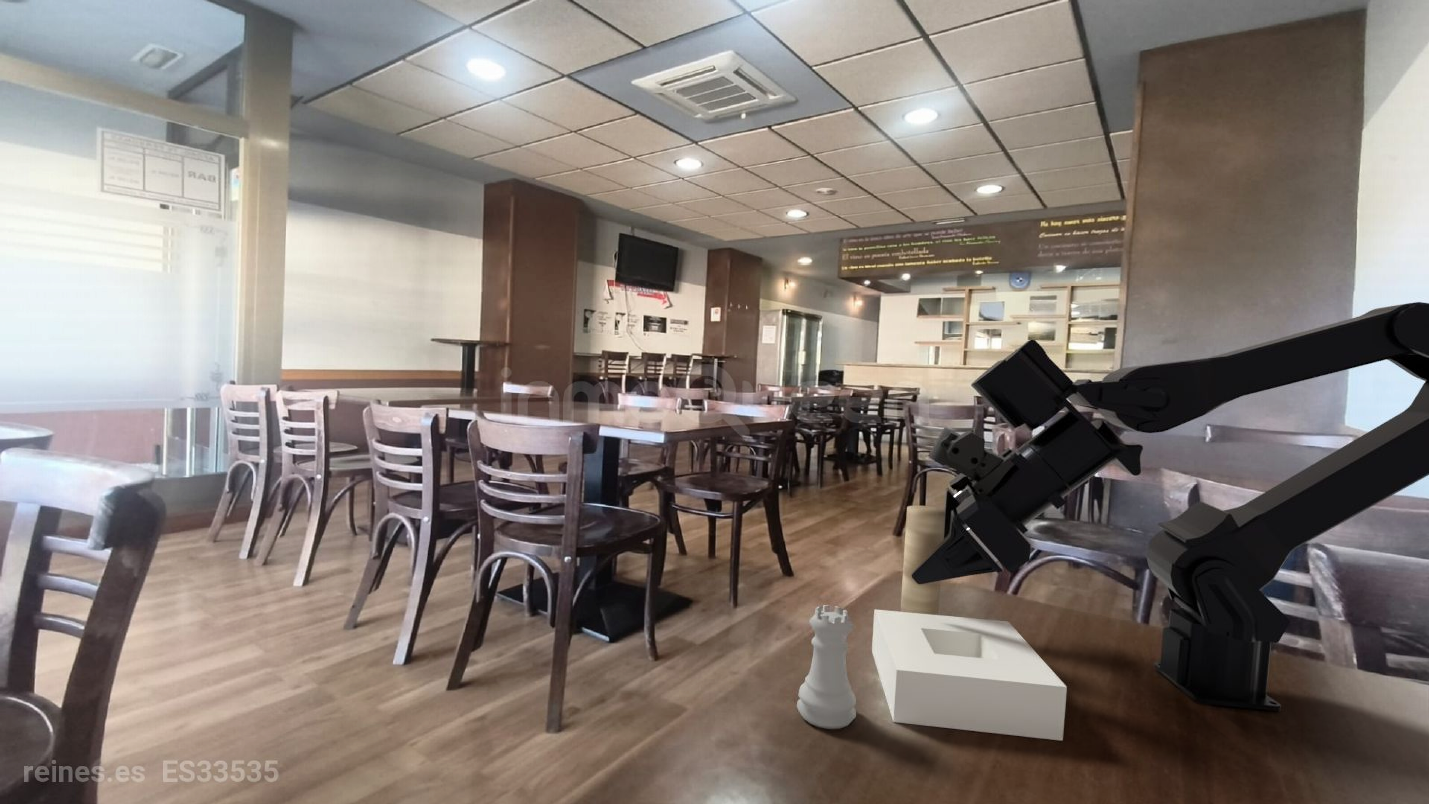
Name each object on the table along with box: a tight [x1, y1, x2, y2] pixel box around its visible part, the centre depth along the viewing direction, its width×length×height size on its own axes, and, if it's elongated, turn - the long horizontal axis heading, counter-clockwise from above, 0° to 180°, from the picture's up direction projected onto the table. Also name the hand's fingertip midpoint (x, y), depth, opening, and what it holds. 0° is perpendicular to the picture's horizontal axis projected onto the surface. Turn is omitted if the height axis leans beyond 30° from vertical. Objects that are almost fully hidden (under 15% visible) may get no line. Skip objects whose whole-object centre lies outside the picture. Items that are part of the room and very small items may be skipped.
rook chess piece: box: [796, 604, 857, 730], centre depth 47 cm, size 4×4×8 cm
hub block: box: [871, 609, 1068, 741], centre depth 51 cm, size 12×12×4 cm
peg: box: [899, 505, 946, 615], centre depth 61 cm, size 4×4×13 cm
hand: (914, 565), depth 61 cm, fingers open, 9 cm apart
